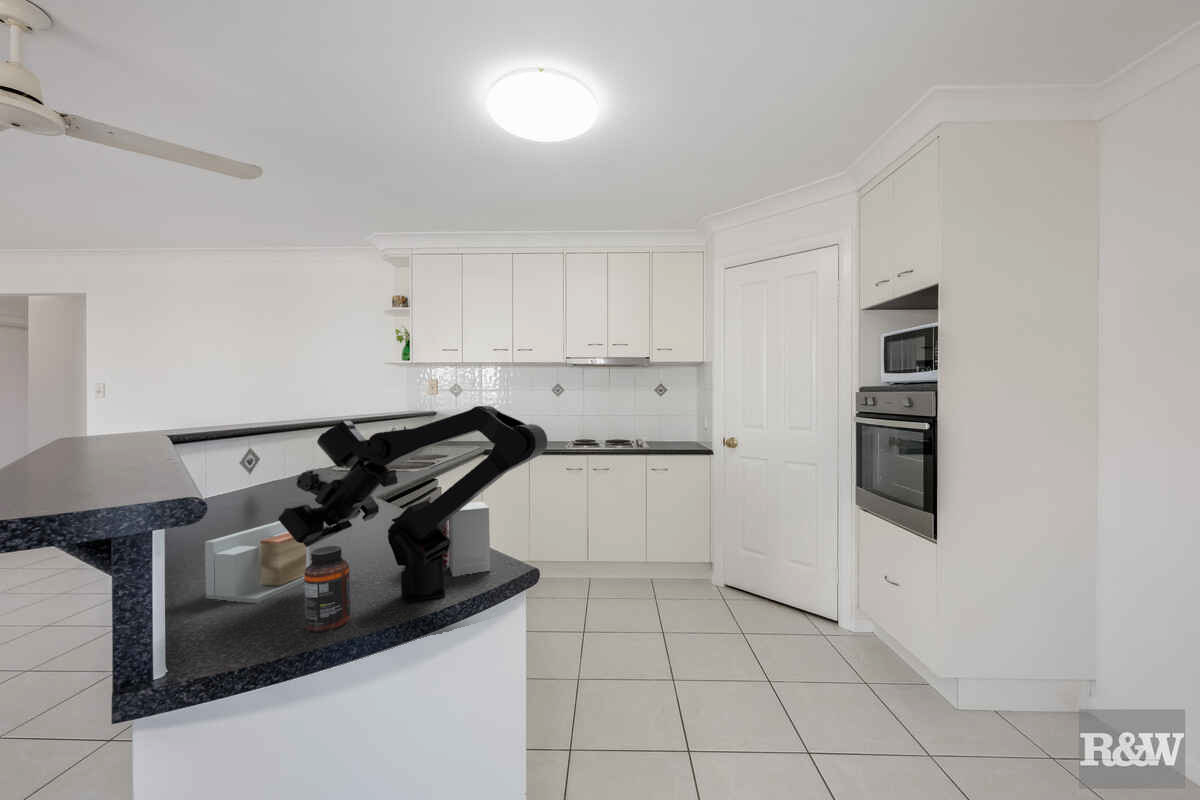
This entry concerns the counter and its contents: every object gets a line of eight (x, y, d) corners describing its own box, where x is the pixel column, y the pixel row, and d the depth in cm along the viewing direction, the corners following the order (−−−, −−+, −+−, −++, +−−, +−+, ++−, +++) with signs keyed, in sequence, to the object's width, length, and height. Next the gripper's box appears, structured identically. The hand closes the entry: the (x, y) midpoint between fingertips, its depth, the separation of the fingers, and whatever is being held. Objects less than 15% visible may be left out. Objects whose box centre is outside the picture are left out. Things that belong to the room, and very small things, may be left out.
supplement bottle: (340, 612, 77) (339, 541, 78) (357, 622, 74) (356, 547, 74) (298, 626, 73) (297, 550, 73) (314, 637, 69) (313, 557, 69)
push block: (306, 574, 93) (305, 532, 93) (279, 585, 87) (278, 541, 87) (288, 573, 94) (288, 532, 94) (261, 584, 88) (260, 540, 88)
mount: (328, 571, 98) (327, 521, 98) (256, 603, 82) (256, 543, 82) (283, 568, 100) (283, 520, 100) (205, 599, 84) (205, 541, 84)
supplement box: (491, 572, 95) (489, 507, 95) (451, 577, 92) (450, 511, 92) (485, 561, 102) (484, 500, 102) (448, 566, 99) (447, 504, 99)
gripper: (365, 449, 98) (318, 502, 100) (287, 459, 79) (232, 525, 81) (400, 489, 96) (352, 542, 98) (329, 509, 78) (272, 574, 80)
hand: (306, 544), depth 89 cm, fingers closed
